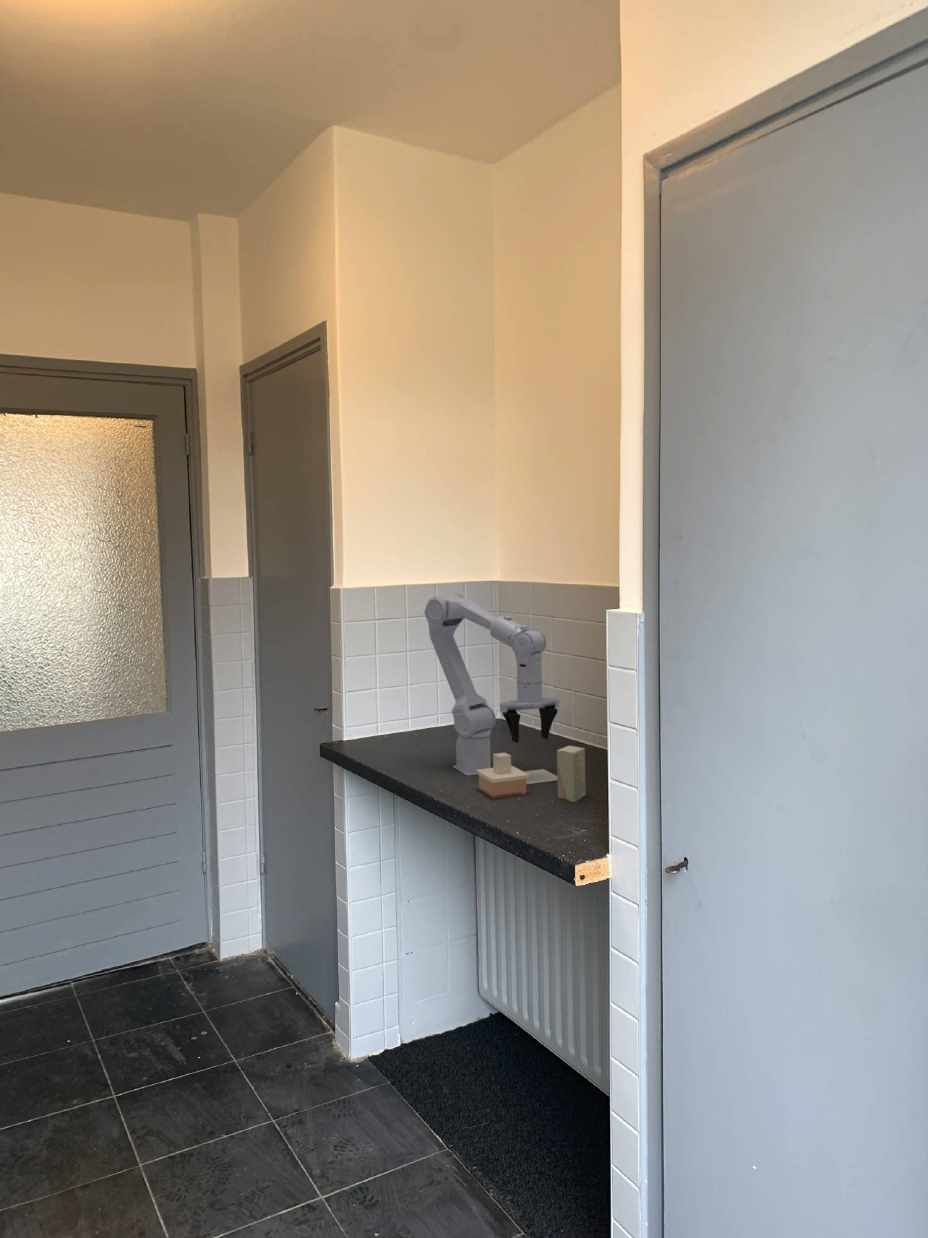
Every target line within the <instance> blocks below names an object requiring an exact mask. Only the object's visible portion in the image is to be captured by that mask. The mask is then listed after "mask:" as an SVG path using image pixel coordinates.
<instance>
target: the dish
mask: <svg viewBox="0 0 928 1238" xmlns="http://www.w3.org/2000/svg"><path fill="white" fill-rule="evenodd" d="M478 789H479V791H481V792H482V793H484V794H486V795H487V796H489V797H490V798H492V799H493V800H494V799H502V798H508V797H509V798H510V797H515V796H524V795H527V784H526V779H520V780H513V781H505V782H498V783H491V782H489V781H488V780H486V779H484V778H483V777H481V776H479V775H478Z"/></svg>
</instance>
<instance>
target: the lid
mask: <svg viewBox="0 0 928 1238" xmlns="http://www.w3.org/2000/svg"><path fill="white" fill-rule="evenodd" d="M492 758H493V759H492V763H493V764H492V765H493V767H492V768H487V769H479V770H476V775H478V777H479V776H481V777H483V778H484V779H486V780H488V781H489V782H491V783H498V782H505V781H513V780H520V779H528V778H529V774H527V773H525V772H526V771H523V770H521V769H519V768H518V767H516V766H514V765H512V755H511V754H508V753H506V752H500V753H499V752H498V753H493V754H492Z"/></svg>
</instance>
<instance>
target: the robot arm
mask: <svg viewBox="0 0 928 1238" xmlns="http://www.w3.org/2000/svg"><path fill="white" fill-rule="evenodd" d="M423 614H424V616H425V618H426V621H427V624H428V631H429V632H428V633H429V634H428V635H429V638H430V639H429V640H430V641H431V644H432V646H433V648H434V651H435V652H436V656H437V658H438V661H439V663H440V665H441V668H442V671H443V674H444V675H445V678H446V681H447V683H448V686H449V688H450V690H451V694H452V695H453V697H454V700H455V703H454V705H453V707H452V710H451V713H452V716H453V727H454V729H455V731H456V733H457V734H458V737H457V739H456V743H455V748H456V751H455V752H456V753H455V754H456V764H455V765H453V766H452V767H453V768H454V769H456V771H457V770H458V771H459V772H461V773H462V774H464V776H465V775H466V776H474V775H477V774H476V770H479V769H487V768H493V767H491V734H492V730H493V728H494V727H495V725H496V723H497V716H496V713H495V711H494V710H493V708H491V706H489V704H488V702H487V700H486V699H485V697H483V696H481V695H479V693H477V691H476V688H475V687H474V686H475V685H474V683H473V681H472V679H471V678H472V677H471V676H470V674H469V671H468V668H467V667H466V664H465V661H464V659H463V657H462V654H461V651H460V649H459V647H458V645H457V642H456V639H455V637H454V634H455V631H456V630H457V629H458V627H459V626H460V624H461V623H462V621H463V620H464V619H465V620H467V621H470V622H472V623H474V624H477V625H479V626H481V627H483V628H485V629H487V630H489V633H490V636H491V637H492V638H493V639H496V640H497V641H499V642H501V643H502V644H504V645H506V646H508V647H510V648H511V650H512V652H513V653H514V655H515V662H516V680H517V681H516V682H517V683H516V685H517V686H516V687H517V689H516V690H517V691H516V692H517V694H516V695H517V697H516V698H517V699H516V700H510V701H504V702H499V711H500V712H501V713H502V716H503V717H504V719H505V722H506V724H507V726H508V729H509V732H510V735H511V741H512V742H514V743H519V742H520V739H519V738H520V735H519V734H520V731H519V729H520V721H521V714H519V713H518V711H525V710H535V709H538V712H539V717H540V736H541V739H542V738H543V739H545V740H548V739H549V734H550V731H551V728H552V724H553V722H554V720H555V718H556V716H557V715H558V708H559V707H560V698H557V697H546V698H545V697H543V682H542V681H543V676H542V673H543V671H542V670H543V667H542V653H543V652H544V650H545V649H546V647H547V639H546V636H545V635H544V633H543V632H542V631H540V629H538V628H532V629H529V628H528V626H527V625H526V624H520V623H518V622H516V621H514V620H512V619H513V618H512V616H510V615H500V616H498V617H496V616H495V615H494V614H492V613H491V612H488V611H487V610H485V609H484V608H483V607H481V606H479V605H477V604H476V603H474V602H473V601H472V600H471V599H470V598H468V597H465V596H464V595H462V594H460V593H459V594H456V593H455V594H452V595H444V596H433V597H430V599H428V601H427V604H426V607H425V608H424V611H423Z"/></svg>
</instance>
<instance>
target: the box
mask: <svg viewBox="0 0 928 1238" xmlns="http://www.w3.org/2000/svg"><path fill="white" fill-rule="evenodd" d="M585 752H586V749H585V748H584V747H579V746H575V745H574V746H573V745H567V746H565V747H562V748H559V749H557V750H556V770H557V772H556V773H557V774H556V776H557V780H556V782H557V798H558V799H563V800H565V801H566V802H570V803H576V802H577V801H579V800H581V799H583V798H584V797H586V757H585V756H586V753H585Z"/></svg>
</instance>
